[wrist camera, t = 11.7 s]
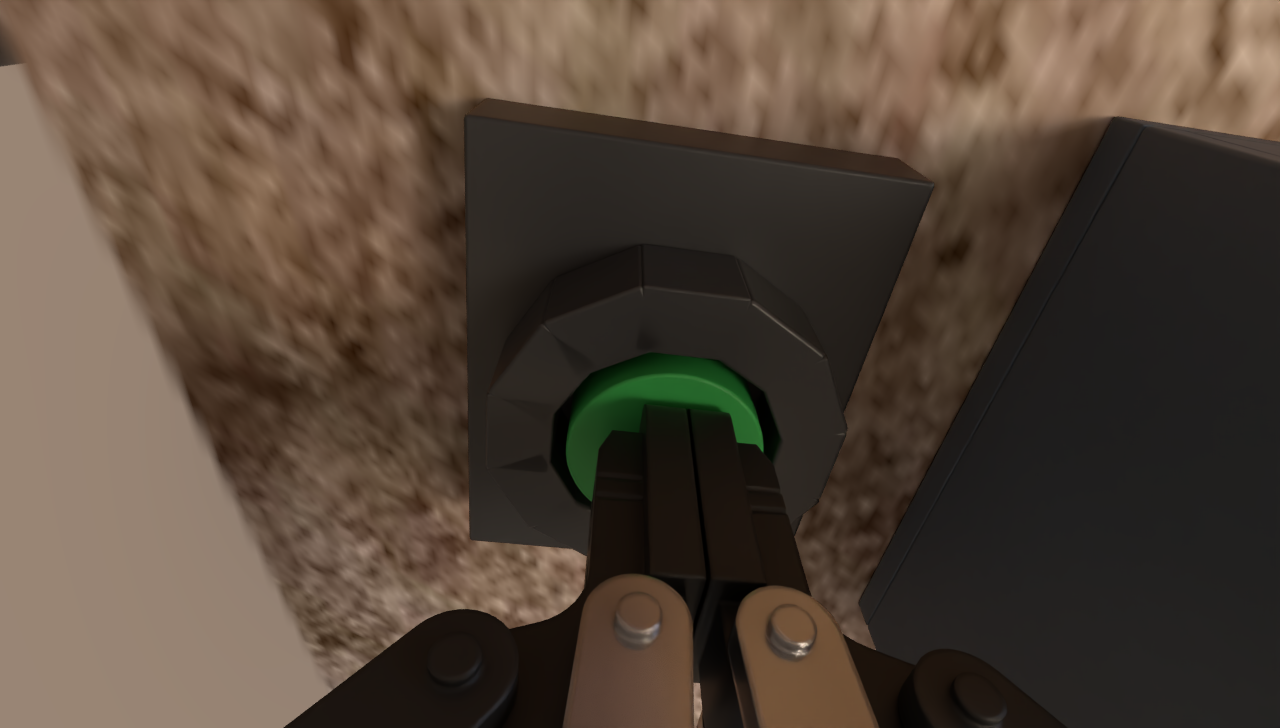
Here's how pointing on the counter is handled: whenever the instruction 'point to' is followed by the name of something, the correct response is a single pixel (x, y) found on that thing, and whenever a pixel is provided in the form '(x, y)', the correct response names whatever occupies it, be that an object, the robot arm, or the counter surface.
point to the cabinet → (1119, 456)
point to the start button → (651, 403)
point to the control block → (663, 289)
